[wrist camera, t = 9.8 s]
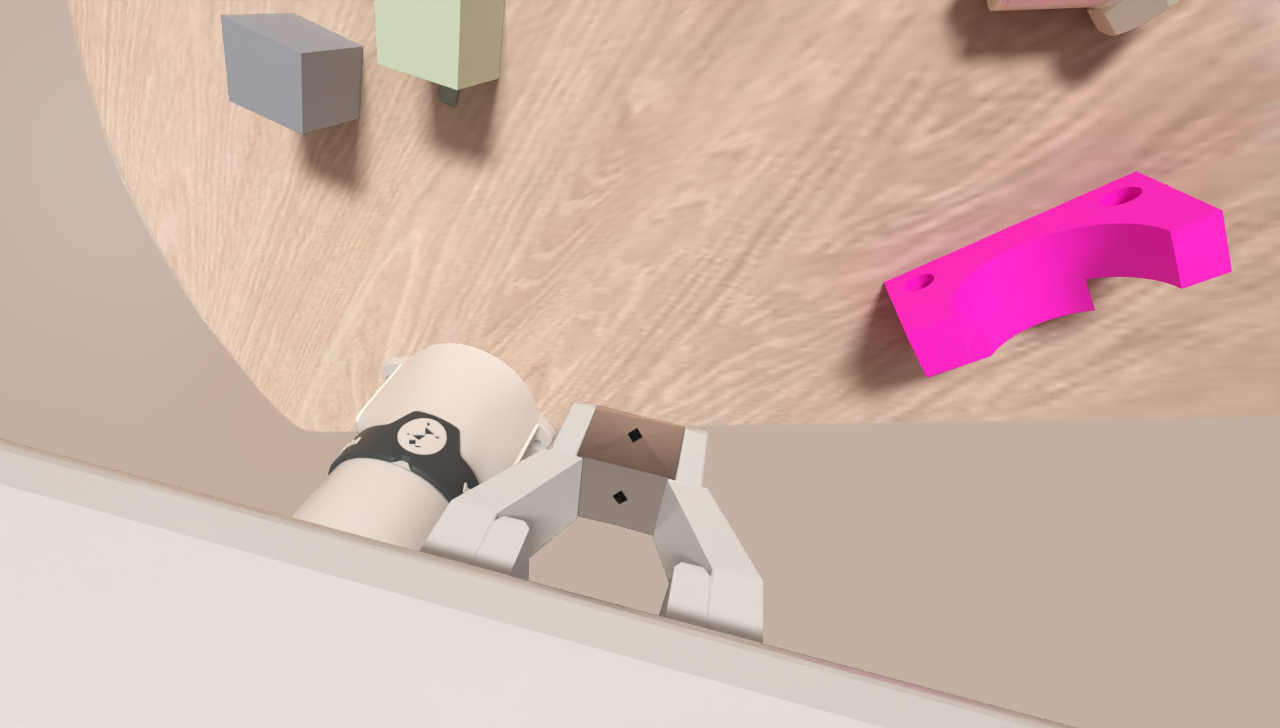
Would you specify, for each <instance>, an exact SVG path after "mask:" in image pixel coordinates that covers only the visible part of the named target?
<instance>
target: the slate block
mask: <svg viewBox="0 0 1280 728" xmlns="http://www.w3.org/2000/svg"><path fill="white" fill-rule="evenodd" d="M221 22H222V32H223V41H224V51H225V61H226V71H227V81H228V91H229V101H231V102H233V103H235V104H238V105H240V106H242V107H244V108H246V109H248V110H251V111H253V112H255V113H257V114H259V115H261V116H264V117H266V118H268V119H270V120H272V121H274V122H276V123H279V124H281V125H283V126H285V127H287V128H289V129H292V130H294V131H296V132H298V133H300V134H302V135H303V134H307V133H310V132H314V131H317V130H321V129H324V128H328V127H331V126H334V125H338V124H341V123H345V122H348V121H352V120H355V119H359V118H360V97H361V76H362V54H363V46H361V45H359V44H357V43H355V42H352V41H350V40H348V39H346V38H344V37H342V36H340V35H338V34H336V33H334V32H332V31H330V30H327V29H325V28H323V27H321V26H319V25H317V24H315V23H313V22H311V21H309V20H307V19H305V18H302V17H300V16H298V15H296V14H294V13H293V14H250V15H221Z"/></svg>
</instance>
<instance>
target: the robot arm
mask: <svg viewBox="0 0 1280 728" xmlns="http://www.w3.org/2000/svg"><path fill="white" fill-rule="evenodd" d="M382 372H383V379H384V384H383V385H382V386H381V387H380V389H379V390H378V391H377V392H376V393H375V394H374V396H373V397H372V398H371V399H370V400H369V402H368V403H367V404H366V405H365V406H364V408H363V409H362V410H361V411H360V412H359V414H358V415H357V417H356V422H357V431H358V435H357V436H356V438H354V440H353V441H351V442H349V443H348V445H346V446H345V447H344V449H343V450H342V451H341V452H340V454H339V455H338V457H337V459H336V460H335V461H334V462H333V464H332V465H331V467H330V469H329V474H328V477H327V478H326V479H325V480H324V481H323V482H322V483H321V484H320V485H319V486H318V488H316V490H315V491H314V492H313V493H312V494H311V495H310V496H309V497H308V498H307V499H306V501H305V502H304V503H303V504H302V505H301V506H300V507H299V508H298V509H297V510H296V511H295V513H293V514H292V516H291V517H289V516H285V515H282V514H278V513H274V512H270V511H267V510H263V509H259V508H256V507H251V506H248V505H244V504H241V503H237V502H233V501H230V500H226V499H222V498H218V497H214V496H211V495H207V494H203V493H199V492H196V491H192V490H189V489H185V488H181V487H177V486H174V485H170V484H166V483H163V482H159V481H155V480H151V479H147V478H144V477H140V476H136V475H133V474H129V473H125V472H121V471H118V470H113V469H110V468H106V467H103V466H99V465H95V464H91V463H88V462H84V461H80V460H77V459H73V458H69V457H65V456H61V455H58V454H54V453H50V452H47V451H43V450H39V449H35V448H32V447H28V446H25V445H21V444H18V443H15V442H11V441H7V440H4V439H1V438H0V728H1075V727H1072V726H1068V725H1064V724H1061V723H1057V722H1053V721H1050V720H1046V719H1042V718H1038V717H1035V716H1031V715H1027V714H1023V713H1020V712H1015V711H1012V710H1009V709H1005V708H1001V707H997V706H994V705H990V704H986V703H982V702H979V701H975V700H971V699H968V698H964V697H960V696H956V695H953V694H949V693H945V692H942V691H938V690H934V689H930V688H926V687H923V686H919V685H915V684H912V683H908V682H904V681H901V680H897V679H893V678H889V677H886V676H882V675H878V674H874V673H871V672H867V671H863V670H860V669H856V668H852V667H848V666H845V665H841V664H837V663H833V662H830V661H826V660H822V659H819V658H814V657H811V656H807V655H804V654H800V653H796V652H792V651H789V650H785V649H781V648H777V647H774V646H770V645H767V644H763V581H762V579H761V578H760V576H759V574H758V572H757V571H756V569H755V567H754V566H753V564H752V562H751V561H750V559H749V557H748V556H747V554H746V552H745V550H744V549H743V547H742V545H741V544H740V542H739V540H738V538H737V537H736V535H735V533H734V532H733V530H732V529H731V527H730V525H729V523H728V522H727V520H726V518H725V516H724V515H723V513H722V511H721V510H720V508H719V506H718V505H717V503H716V501H715V499H714V498H713V496H712V494H711V493H710V491H709V489H706V488H702V481H703V473H704V465H705V457H706V449H707V441H708V432H707V431H705V430H700V429H695V428H692V427H687V426H685V428H684V426H681V425H677V424H672V423H668V422H664V421H659V420H655V419H651V418H646V417H642V416H638V415H634V414H630V413H626V412H623V411H619V410H615V409H611V408H607V407H604V406H600V405H598V406H597V405H594V404H590V403H587V402H583V401H579V400H576V401H575V402H574V403H573V404H572V406H571V408H570V410H569V412H568V414H567V417H566V419H565V421H564V423H563V425H562V427H561V429H560V431H559V433H558V435H557V438H556V440H555V442H554V444H553V446H552V448H551V450H549V449H547V448H548V447H549V446H550V444H551V443H552V441H553V440H554V438H555V436H556V433H555V430H554V428H552V426H551V425H550V424H549V423H548V422H547V420H546V419H545V418H544V417H543V416H542V415H541V414H540V412H539V410H538V408H537V405H536V402H535V400H534V397H533V395H532V393H531V391H530V390H529V388H528V386H527V385H526V384H525V382H524V381H523V380H522V379H521V377H520V376H519V375H518V374H517V373H516V372H515V371H514V370H513V369H512V368H510V367H509V366H508V365H507V364H505V363H504V362H503V361H501V360H500V359H498V358H497V357H495V356H493V355H491V354H489V353H487V352H485V351H483V350H480V349H478V348H475V347H472V346H468V345H463V344H457V343H441V344H435V345H431V346H429V347H426V348H424V349H422V350H421V351H419V352H418V353H416V354H414V355H412V356H409V357H396V358H391V359H389V360H388V361H387V362H386V363H385V364H384V366H383V368H382ZM577 516H579V517H583V518H588V519H592V520H596V521H601V522H606V523H610V524H614V525H618V526H621V527H625V528H628V529H632V530H635V531H639V532H642V533H646V534H649V535H653V539H654V542H655V545H656V548H657V550H658V553H659V556H660V559H661V561H662V564H663V567H664V570H665V572H666V575H667V578H668V581H669V585H668V588H667V591H666V595H665V598H664V601H663V604H662V607H661V610H660V613H659V616H658V615H654V614H650V613H646V612H643V611H639V610H635V609H631V608H628V607H624V606H620V605H617V604H613V603H609V602H606V601H601V600H598V599H594V598H591V597H587V596H583V595H580V594H576V593H572V592H568V591H565V590H561V589H557V588H553V587H550V586H546V585H542V584H539V583H535V582H531V581H528V576H529V558H530V557H531V556H532V555H534V554H535V553H536V552H537V551H538V550H540V549H541V548H542V547H543V546H544V545H546V544H547V543H548V542H549V541H550V540H552V539H553V538H554V537H555V536H556V535H558V534H559V533H560V532H561V531H562V530H564V529H565V528H566V527H567V526H568V525H569V524H571V523H572V522H573V521H574V520H575V519H576V518H577Z"/></svg>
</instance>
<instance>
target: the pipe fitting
mask: <svg viewBox="0 0 1280 728" xmlns="http://www.w3.org/2000/svg"><path fill="white" fill-rule="evenodd" d="M1178 1H1179V0H987V7H988V9H989V10H990V11H1004V10H1031V9H1059V8H1084V7H1089V8H1088V9H1087V12H1088V14H1089V15H1090V17H1091V19H1092V21H1093V23H1094V24H1095V26H1096V28H1097V30H1098V31H1100V32H1102V33H1104V34H1106V35H1110V36H1115V35H1119V34H1122V33H1125V32H1128V31H1130V30H1132V29H1135V28H1137V27H1139V26H1141V25H1143V24H1145V23H1147V22H1148V21H1150V20H1152V19H1154V18H1155V17H1157V16H1158V15H1160V14H1162V13H1163V12H1164V11H1166V10H1167V9H1169V8H1170V7H1171V6H1173V5H1174V4H1175V3H1177V2H1178Z"/></svg>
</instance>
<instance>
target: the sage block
mask: <svg viewBox="0 0 1280 728" xmlns="http://www.w3.org/2000/svg"><path fill="white" fill-rule="evenodd" d="M374 3H375V23H376V44H377V64H379V65H382V66H385V67H388V68H391V69H395V70H398V71H401V72H404V73H407V74H410V75H413V76H416V77H419V78H422V79H425V80H428V81H431V82H434V83H437V84H440V85H443V86H446V87H449V88H452V89H455V90H460V89H463V88H467V87H470V86H474V85H477V84H481V83H484V82H488V81H492V80H495V79H499V71H500V58H501V45H502V32H503V19H504V6H505V0H374Z"/></svg>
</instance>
